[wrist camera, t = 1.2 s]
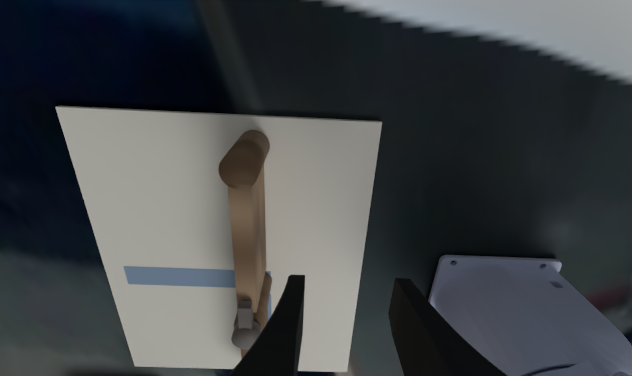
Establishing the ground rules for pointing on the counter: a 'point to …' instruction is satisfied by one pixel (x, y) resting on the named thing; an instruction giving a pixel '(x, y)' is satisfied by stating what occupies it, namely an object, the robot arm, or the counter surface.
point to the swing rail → (247, 228)
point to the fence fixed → (260, 306)
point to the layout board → (222, 225)
